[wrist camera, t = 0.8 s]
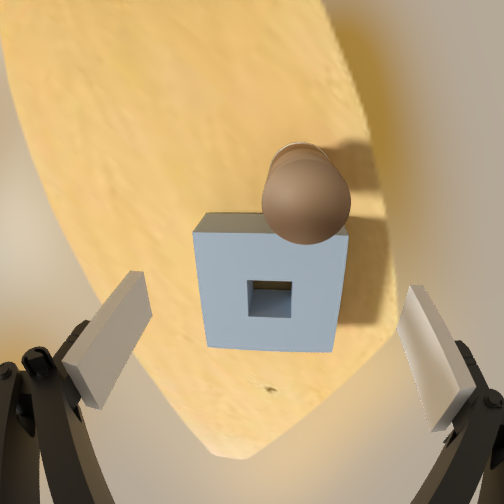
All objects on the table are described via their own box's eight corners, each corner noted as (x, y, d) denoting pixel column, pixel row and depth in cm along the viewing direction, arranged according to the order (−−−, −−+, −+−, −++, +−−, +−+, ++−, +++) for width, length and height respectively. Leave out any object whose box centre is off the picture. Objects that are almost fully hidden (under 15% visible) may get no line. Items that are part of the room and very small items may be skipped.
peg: (271, 136, 33) (260, 158, 20) (327, 138, 32) (354, 161, 19) (272, 189, 36) (261, 244, 22) (325, 190, 35) (347, 246, 22)
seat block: (206, 213, 38) (192, 232, 33) (340, 215, 36) (348, 235, 31) (216, 319, 45) (207, 347, 40) (328, 323, 43) (331, 352, 38)
